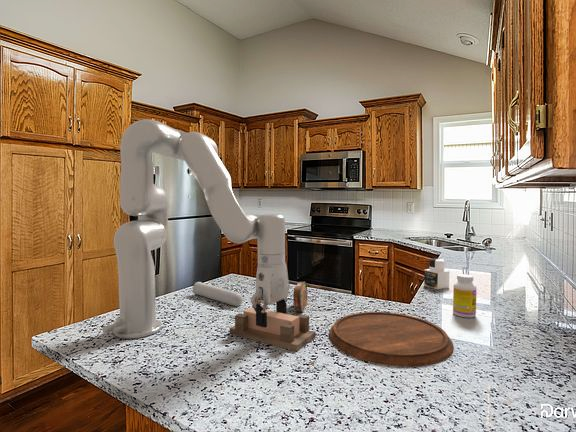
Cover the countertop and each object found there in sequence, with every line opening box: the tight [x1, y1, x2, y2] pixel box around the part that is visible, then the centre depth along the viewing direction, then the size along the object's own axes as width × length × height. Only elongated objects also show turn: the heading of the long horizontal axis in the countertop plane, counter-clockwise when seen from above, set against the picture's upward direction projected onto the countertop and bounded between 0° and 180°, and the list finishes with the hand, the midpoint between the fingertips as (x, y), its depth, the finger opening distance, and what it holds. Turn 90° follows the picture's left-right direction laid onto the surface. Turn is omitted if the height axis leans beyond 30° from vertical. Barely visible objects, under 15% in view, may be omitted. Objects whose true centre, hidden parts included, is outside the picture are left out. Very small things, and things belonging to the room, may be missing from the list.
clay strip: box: [243, 306, 299, 336], centre depth 95 cm, size 4×16×4 cm, turn 58°
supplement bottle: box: [452, 273, 477, 319], centre depth 111 cm, size 7×7×13 cm
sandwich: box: [292, 281, 308, 313], centre depth 119 cm, size 15×3×8 cm, turn 168°
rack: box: [229, 312, 317, 352], centre depth 95 cm, size 10×22×6 cm, turn 58°
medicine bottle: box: [423, 257, 450, 290], centre depth 146 cm, size 7×7×12 cm
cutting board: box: [328, 311, 455, 368], centre depth 93 cm, size 32×32×3 cm
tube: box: [192, 281, 244, 307], centre depth 129 cm, size 5×5×25 cm
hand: (271, 320), depth 95 cm, fingers open, 9 cm apart
